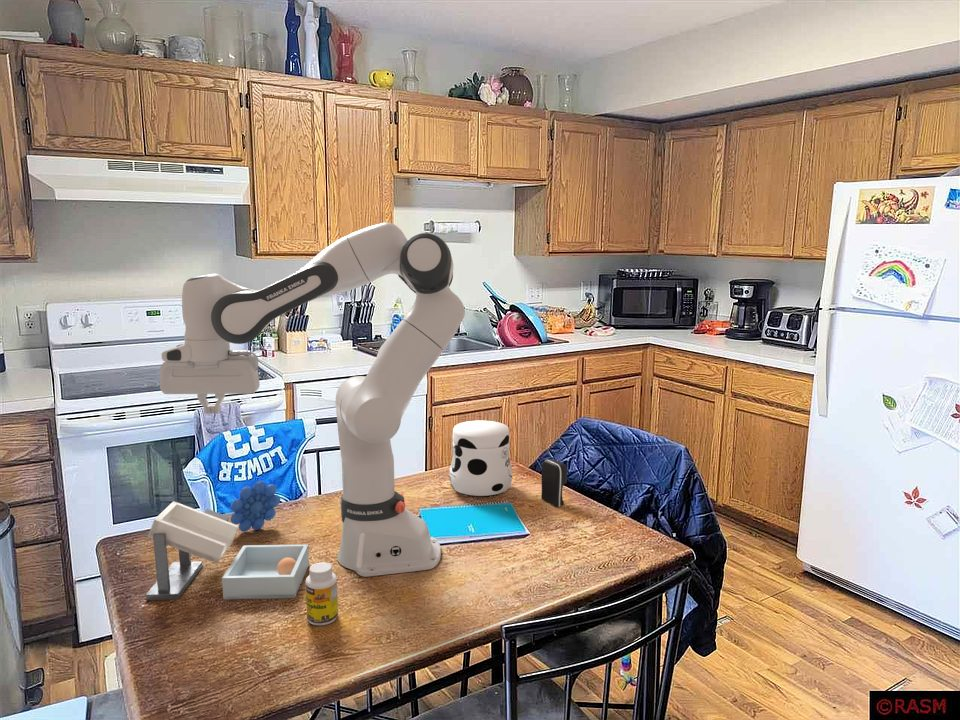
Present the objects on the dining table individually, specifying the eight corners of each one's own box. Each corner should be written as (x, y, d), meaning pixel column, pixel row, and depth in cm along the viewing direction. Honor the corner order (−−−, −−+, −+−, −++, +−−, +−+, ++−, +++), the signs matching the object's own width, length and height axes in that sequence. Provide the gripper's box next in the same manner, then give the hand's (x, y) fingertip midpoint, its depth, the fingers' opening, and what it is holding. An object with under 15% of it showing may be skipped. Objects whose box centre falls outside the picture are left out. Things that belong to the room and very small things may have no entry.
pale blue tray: (309, 563, 142) (308, 544, 141) (294, 598, 129) (293, 576, 128) (244, 565, 141) (243, 545, 140) (223, 599, 128) (221, 578, 127)
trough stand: (202, 566, 141) (198, 508, 138) (178, 599, 128) (172, 536, 125) (173, 567, 140) (168, 509, 138) (146, 600, 128) (140, 537, 125)
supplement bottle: (301, 624, 120) (298, 571, 118) (317, 608, 125) (315, 557, 123) (328, 629, 118) (326, 576, 116) (343, 613, 124) (341, 562, 122)
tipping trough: (243, 526, 145) (249, 511, 145) (217, 563, 129) (224, 545, 128) (181, 503, 143) (187, 487, 143) (147, 537, 127) (154, 519, 127)
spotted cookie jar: (524, 490, 184) (526, 427, 180) (481, 508, 171) (482, 441, 168) (479, 474, 195) (479, 415, 192) (436, 490, 183) (435, 428, 180)
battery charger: (568, 505, 173) (569, 463, 171) (557, 508, 171) (558, 466, 169) (551, 496, 179) (552, 456, 177) (540, 499, 177) (541, 458, 175)
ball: (301, 556, 136) (281, 552, 136) (297, 565, 132) (277, 561, 132) (297, 573, 137) (278, 569, 137) (293, 583, 133) (273, 579, 133)
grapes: (277, 518, 165) (274, 472, 163) (284, 528, 159) (281, 480, 157) (227, 528, 159) (224, 480, 157) (233, 539, 153) (230, 490, 151)
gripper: (261, 347, 145) (264, 409, 148) (166, 348, 144) (171, 409, 147) (253, 353, 139) (256, 416, 142) (153, 353, 138) (159, 417, 141)
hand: (212, 413), depth 144 cm, fingers closed
